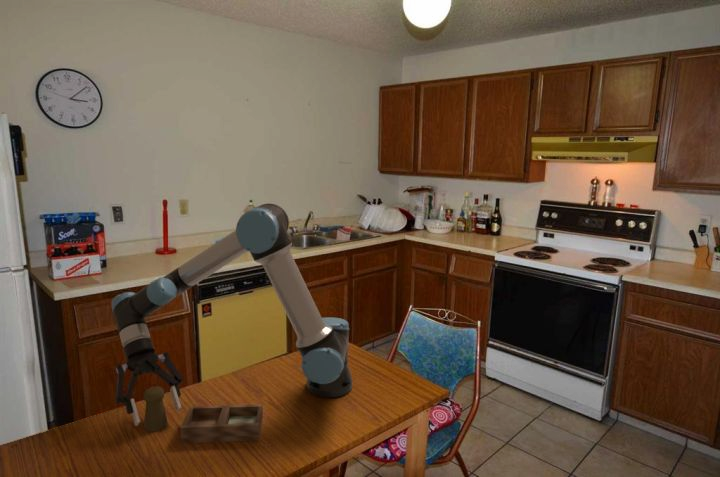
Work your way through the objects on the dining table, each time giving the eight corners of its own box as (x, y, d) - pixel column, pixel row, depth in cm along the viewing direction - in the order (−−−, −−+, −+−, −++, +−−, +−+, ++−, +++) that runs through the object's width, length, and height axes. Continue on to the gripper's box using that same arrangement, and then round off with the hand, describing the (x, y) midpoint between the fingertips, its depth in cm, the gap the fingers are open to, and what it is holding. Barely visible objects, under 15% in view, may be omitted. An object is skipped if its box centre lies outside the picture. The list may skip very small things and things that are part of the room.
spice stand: (262, 418, 130) (262, 404, 130) (259, 440, 121) (258, 425, 120) (190, 421, 128) (190, 406, 127) (181, 443, 118) (180, 427, 118)
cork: (158, 433, 122) (156, 396, 120) (138, 430, 123) (136, 393, 121) (172, 420, 128) (170, 385, 126) (153, 417, 129) (151, 382, 127)
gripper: (173, 338, 141) (196, 406, 133) (91, 359, 126) (110, 437, 118) (179, 328, 136) (203, 397, 128) (94, 347, 121) (115, 428, 113)
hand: (159, 416), depth 123 cm, fingers open, 10 cm apart
